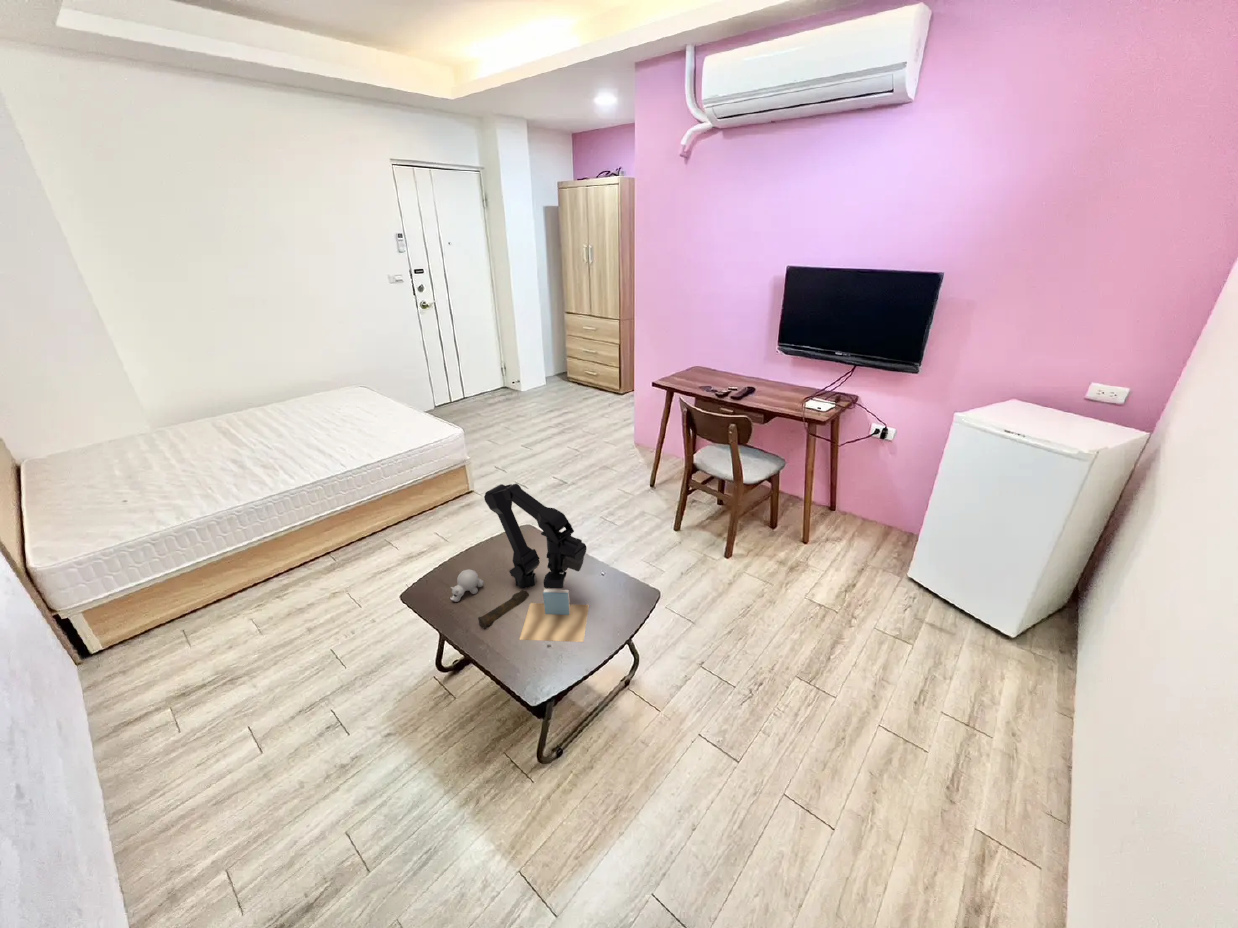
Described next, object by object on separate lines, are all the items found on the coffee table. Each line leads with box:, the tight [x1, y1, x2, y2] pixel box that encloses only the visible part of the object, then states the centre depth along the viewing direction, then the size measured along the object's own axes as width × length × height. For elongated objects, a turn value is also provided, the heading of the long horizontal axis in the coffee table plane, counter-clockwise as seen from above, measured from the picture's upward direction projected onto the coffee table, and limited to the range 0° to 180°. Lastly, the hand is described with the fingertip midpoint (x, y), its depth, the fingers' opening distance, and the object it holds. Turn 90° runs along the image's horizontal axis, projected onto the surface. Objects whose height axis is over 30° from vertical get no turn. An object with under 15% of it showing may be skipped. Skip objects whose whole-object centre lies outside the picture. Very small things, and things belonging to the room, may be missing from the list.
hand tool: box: [477, 589, 530, 630], centre depth 158 cm, size 19×4×5 cm, turn 134°
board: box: [518, 602, 590, 643], centre depth 153 cm, size 20×16×1 cm
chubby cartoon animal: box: [449, 569, 485, 603], centre depth 165 cm, size 7×12×8 cm, turn 142°
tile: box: [542, 588, 571, 615], centre depth 155 cm, size 8×2×9 cm, turn 87°
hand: (559, 586), depth 159 cm, fingers closed
